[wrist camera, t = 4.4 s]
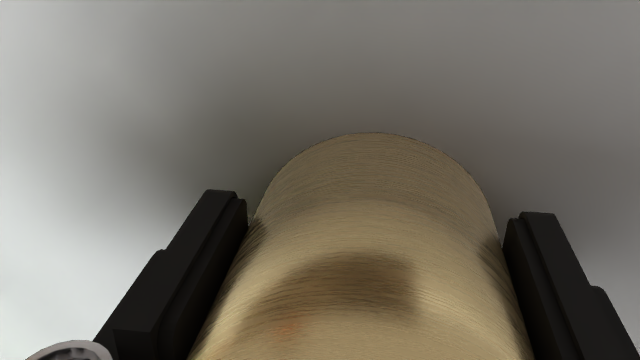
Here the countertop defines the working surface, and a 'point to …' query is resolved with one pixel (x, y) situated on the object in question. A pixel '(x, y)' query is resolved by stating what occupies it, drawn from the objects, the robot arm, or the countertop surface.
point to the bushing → (368, 263)
